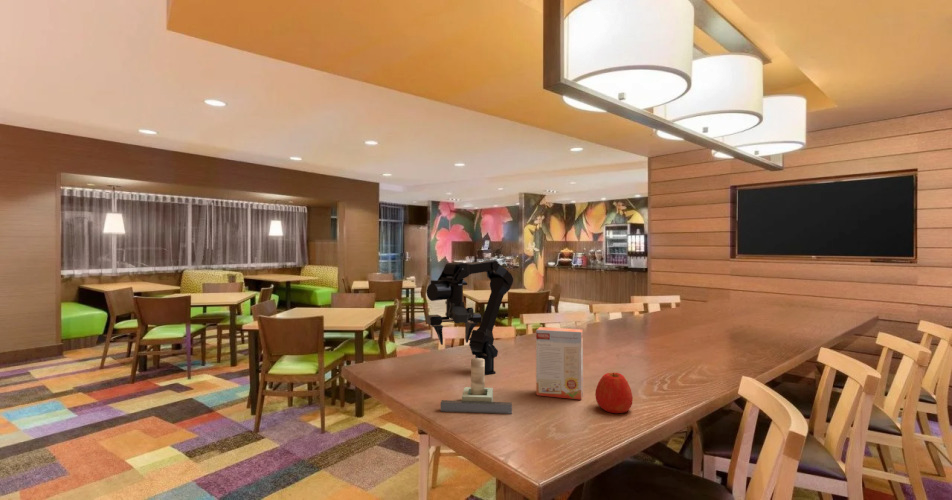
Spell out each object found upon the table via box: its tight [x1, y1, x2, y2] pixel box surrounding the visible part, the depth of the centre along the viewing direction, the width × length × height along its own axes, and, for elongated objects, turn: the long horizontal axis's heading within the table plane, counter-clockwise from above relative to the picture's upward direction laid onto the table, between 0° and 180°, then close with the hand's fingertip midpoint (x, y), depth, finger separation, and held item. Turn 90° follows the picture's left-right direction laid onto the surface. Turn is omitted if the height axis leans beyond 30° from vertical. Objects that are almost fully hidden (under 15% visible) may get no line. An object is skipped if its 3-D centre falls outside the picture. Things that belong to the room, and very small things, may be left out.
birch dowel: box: [470, 357, 486, 395], centre depth 129 cm, size 4×4×12 cm
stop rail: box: [440, 399, 513, 415], centre depth 123 cm, size 2×20×2 cm, turn 85°
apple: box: [594, 372, 634, 414], centre depth 125 cm, size 10×10×10 cm
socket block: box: [461, 386, 494, 402], centre depth 129 cm, size 9×9×4 cm
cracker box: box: [535, 326, 584, 401], centre depth 137 cm, size 14×6×21 cm, turn 71°
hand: (454, 343), depth 151 cm, fingers open, 9 cm apart
